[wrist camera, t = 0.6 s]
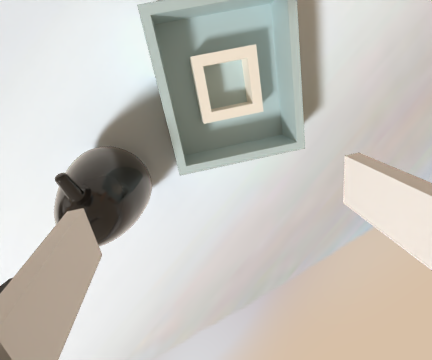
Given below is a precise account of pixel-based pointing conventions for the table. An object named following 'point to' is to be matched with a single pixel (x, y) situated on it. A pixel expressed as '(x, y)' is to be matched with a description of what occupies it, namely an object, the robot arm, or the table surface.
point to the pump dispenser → (105, 191)
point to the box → (227, 78)
